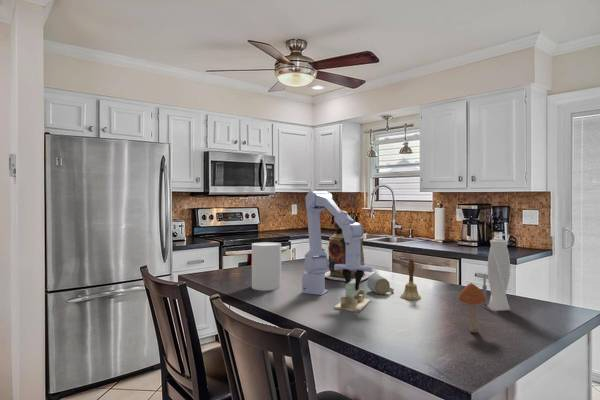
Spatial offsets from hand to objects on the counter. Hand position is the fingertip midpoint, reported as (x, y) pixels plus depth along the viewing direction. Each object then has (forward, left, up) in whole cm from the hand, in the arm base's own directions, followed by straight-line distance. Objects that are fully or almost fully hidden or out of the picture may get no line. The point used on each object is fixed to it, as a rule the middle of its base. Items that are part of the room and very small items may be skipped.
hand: (353, 289), depth 153 cm
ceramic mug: (+6, +24, -6) cm, 25 cm away
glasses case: (0, 0, -2) cm, 2 cm away
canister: (-45, +14, -6) cm, 48 cm away
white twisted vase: (+51, +16, -6) cm, 54 cm away
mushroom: (+42, -15, -6) cm, 45 cm away
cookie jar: (-18, +51, -6) cm, 54 cm away
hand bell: (+19, +20, -6) cm, 28 cm away
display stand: (0, 0, -6) cm, 6 cm away
